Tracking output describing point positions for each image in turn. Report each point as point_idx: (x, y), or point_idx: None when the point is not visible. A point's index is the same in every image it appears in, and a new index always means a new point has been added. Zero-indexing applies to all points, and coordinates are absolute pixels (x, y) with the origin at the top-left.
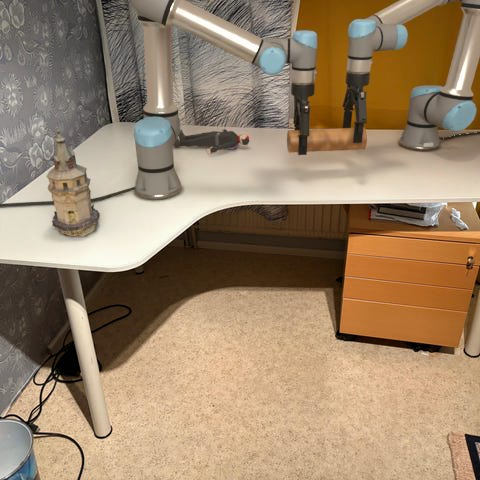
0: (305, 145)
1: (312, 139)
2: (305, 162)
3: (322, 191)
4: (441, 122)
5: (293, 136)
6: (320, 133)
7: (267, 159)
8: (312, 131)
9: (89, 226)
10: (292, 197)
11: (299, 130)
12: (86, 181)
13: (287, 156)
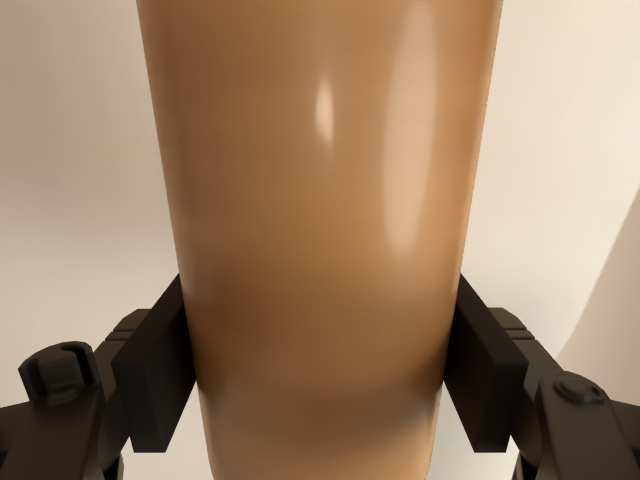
0: (510, 316)
1: (463, 246)
2: (97, 123)
3: (555, 116)
4: None
5: (418, 476)
6: (443, 121)
7: (72, 321)
8: (381, 270)
9: None
10: (568, 280)
11: (318, 446)
12: None
13: (6, 215)
